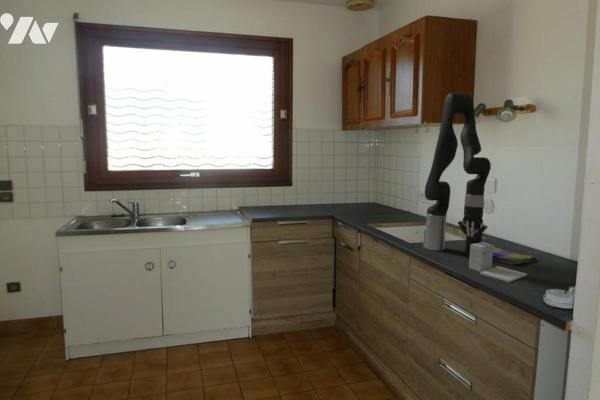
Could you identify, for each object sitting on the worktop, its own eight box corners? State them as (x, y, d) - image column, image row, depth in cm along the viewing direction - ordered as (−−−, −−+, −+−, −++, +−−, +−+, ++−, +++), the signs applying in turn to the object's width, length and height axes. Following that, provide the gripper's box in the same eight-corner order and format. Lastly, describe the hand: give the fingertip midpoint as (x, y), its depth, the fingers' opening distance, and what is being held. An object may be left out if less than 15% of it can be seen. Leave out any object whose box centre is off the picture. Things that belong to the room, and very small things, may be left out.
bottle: (462, 253, 204) (466, 212, 201) (477, 253, 203) (480, 212, 200) (467, 257, 197) (470, 214, 194) (482, 257, 197) (486, 215, 194)
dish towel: (491, 249, 215) (492, 244, 214) (539, 262, 194) (540, 256, 193) (468, 253, 206) (469, 248, 205) (516, 267, 185) (516, 261, 185)
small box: (480, 265, 185) (482, 241, 183) (491, 269, 180) (493, 244, 179) (468, 268, 181) (470, 244, 179) (480, 271, 176) (482, 247, 174)
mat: (479, 274, 173) (480, 272, 173) (497, 268, 181) (498, 266, 181) (509, 282, 164) (509, 280, 164) (526, 275, 172) (527, 273, 172)
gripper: (454, 203, 183) (452, 243, 186) (484, 207, 173) (480, 249, 175) (464, 202, 188) (461, 240, 190) (493, 206, 177) (490, 247, 180)
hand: (470, 245), depth 183 cm, fingers closed
